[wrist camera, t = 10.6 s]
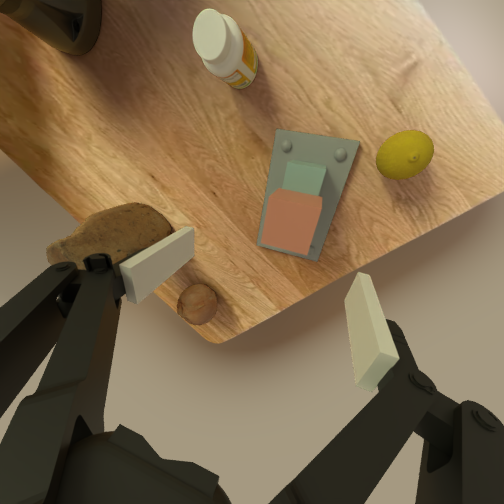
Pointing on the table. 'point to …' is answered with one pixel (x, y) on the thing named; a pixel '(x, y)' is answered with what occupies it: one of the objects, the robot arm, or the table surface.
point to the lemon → (404, 154)
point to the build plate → (330, 182)
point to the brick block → (291, 220)
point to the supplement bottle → (224, 48)
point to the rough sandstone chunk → (111, 234)
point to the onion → (197, 304)
